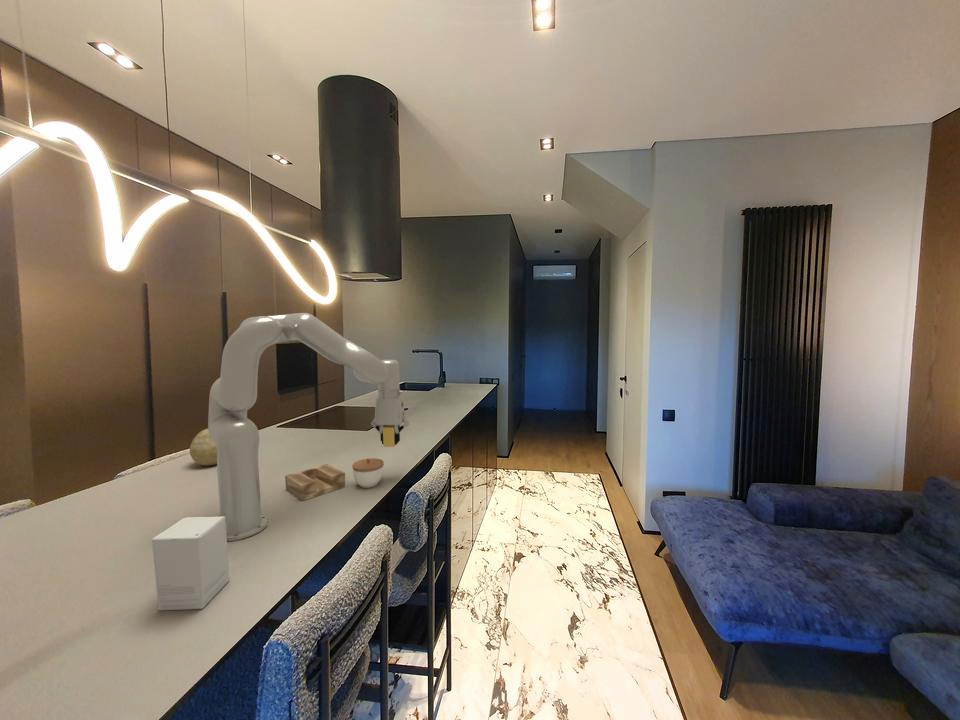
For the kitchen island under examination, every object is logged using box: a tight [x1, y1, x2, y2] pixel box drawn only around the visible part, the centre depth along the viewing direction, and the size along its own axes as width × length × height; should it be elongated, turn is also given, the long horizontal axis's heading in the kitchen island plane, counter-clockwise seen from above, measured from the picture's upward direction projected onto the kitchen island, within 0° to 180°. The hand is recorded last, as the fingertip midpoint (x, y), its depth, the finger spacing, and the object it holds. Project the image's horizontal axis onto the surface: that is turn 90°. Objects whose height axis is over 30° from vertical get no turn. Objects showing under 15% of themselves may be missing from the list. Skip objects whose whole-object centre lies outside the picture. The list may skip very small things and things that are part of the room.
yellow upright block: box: [382, 425, 396, 448], centre depth 137 cm, size 4×4×7 cm
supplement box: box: [151, 516, 230, 611], centre depth 78 cm, size 9×9×15 cm
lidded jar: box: [351, 457, 385, 489], centre depth 134 cm, size 11×11×9 cm
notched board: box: [284, 463, 346, 502], centre depth 131 cm, size 15×13×5 cm
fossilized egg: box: [189, 428, 217, 467], centre depth 153 cm, size 13×13×15 cm
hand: (390, 442), depth 137 cm, fingers closed on yellow upright block, 4 cm apart
